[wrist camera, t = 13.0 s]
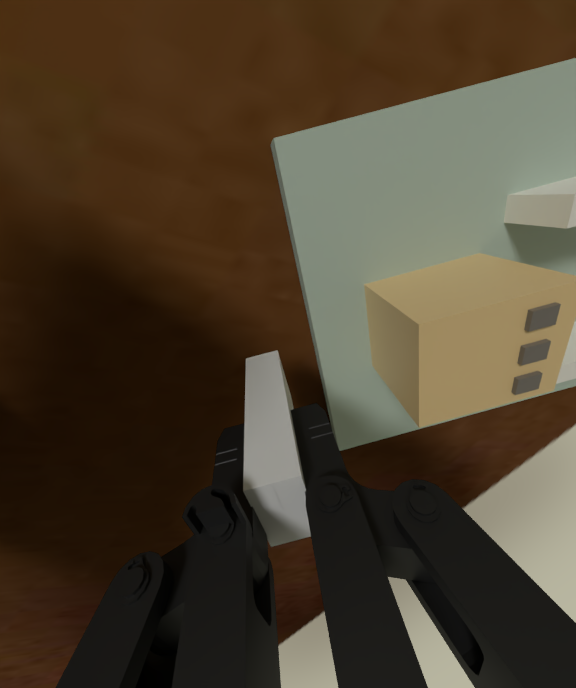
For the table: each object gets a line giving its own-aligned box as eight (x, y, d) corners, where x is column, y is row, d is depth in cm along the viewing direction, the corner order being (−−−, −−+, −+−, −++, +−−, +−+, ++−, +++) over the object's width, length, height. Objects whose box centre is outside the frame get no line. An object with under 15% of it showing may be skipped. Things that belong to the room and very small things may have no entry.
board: (333, 435, 21) (353, 491, 17) (270, 144, 12) (282, 118, 8) (591, 363, 21) (673, 402, 17) (713, 27, 12) (939, -56, 8)
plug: (372, 365, 16) (421, 431, 12) (364, 284, 14) (421, 326, 9) (471, 338, 16) (558, 393, 12) (479, 253, 14) (593, 279, 9)
